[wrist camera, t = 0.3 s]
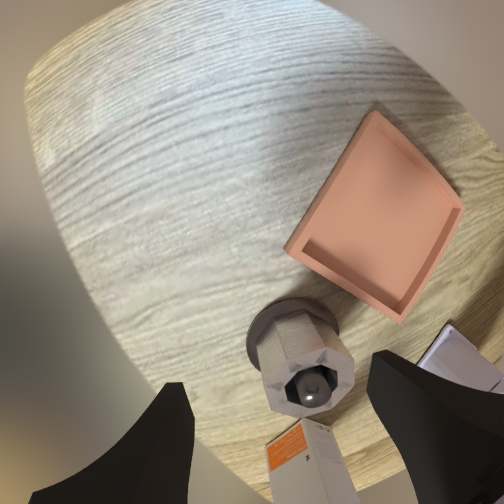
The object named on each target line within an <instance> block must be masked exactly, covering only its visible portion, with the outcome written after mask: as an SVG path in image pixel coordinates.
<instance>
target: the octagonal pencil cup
mask: <svg viewBox="0 0 504 504" xmlns="http://www.w3.org/2000/svg"><path fill="white" fill-rule="evenodd" d="M255 342H256V348H257V353H258V358H259V364H260V369H261V374H262V379H263V385H264V389H265V392H266V395H267V398H268V402H269V405H270V408H271V410H272V411H275V412H279V413H282V414H285V415H289V416H292V417H296V418H303V417H307V416H310V415H313V414H317V413H320V412H323V411H326V410H330V409H332V408H333V407H334V406H335V405H336V404H337V403H338V402H339V401H340V400H341V399H342V398H343V397H344V396H345V395H346V394H347V393H348V392H349V391H350V390H351V389H352V388H353V386H354V385H355V373H354V359H353V357H352V356H351V354H350V353H349V351H348V350H347V348H346V347H345V346H344V344H343V343H342V341H341V340H340V338H339V337H338V335H337V334H336V333H335V331H334V330H333V328H332V327H331V325H330V324H329V323H328V321H327V320H325V319H323V318H321V317H319V316H317V315H316V314H314V313H312V312H310V311H308V310H306V309H304V308H302V309H299V310H295V311H291V312H288V313H284V314H280V315H276V316H273V317H272V318H271V319H270V321H269V322H268V323H267V325H266V326H265V328H264V329H263V330H262V332H261V333H260V335H259V336H258V337H257V339H256V340H255ZM317 365H319V367H320V369H321V371H322V373H323V375H324V377H325V379H326V381H327V383H328V385H329V387H330V389H331V391H332V396H331V398H330V400H329V401H328V402H327V403H326V404H324V405H323V406H320V407H318V408H306V407H304V406H303V405H302V403H301V400H300V397H299V394H298V391H297V388H296V385H295V382H294V379H293V376H294V375H295V374H296V373H297V371H300V370H303V369H307V368H310V367H313V366H317Z"/></svg>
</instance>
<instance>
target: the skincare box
mask: <svg viewBox="0 0 504 504" xmlns="http://www.w3.org/2000/svg"><path fill="white" fill-rule="evenodd" d="M265 452H266V459H267V466H268V472H269V478H270V485H271V492H272V498H273V504H361V503H360V501H359V498H358V495H357V493H356V490H355V488H354V485H353V483H352V480H351V477H350V475H349V472H348V470H347V467H346V465H345V462H344V460H343V457H342V455H341V452H340V449H339V447H338V444H337V442H336V439H335V437H334V434H333V432H332V429H331V427H329V426H326V425H324V424H321V423H318V422H315V421H313V420H310V419H308V418H305V417H304V418H302V419H301V420H300V421H299V422H298V423H296V424H295V425H294V426H292V427H291V428H290V429H289V430H287V431H286V432H285V433H283V434H282V435H280V436H279V437H278V438H276V439H275V440H273V441H272V442H270V443H269V444H267V445H266V446H265Z"/></svg>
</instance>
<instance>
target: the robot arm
mask: <svg viewBox="0 0 504 504" xmlns="http://www.w3.org/2000/svg"><path fill="white" fill-rule="evenodd" d="M366 391H367V394H368V396H369V399H370V401H371V403H372V406H373V408H374V410H375V412H376V414H377V415H378V417H379V419H380V420H381V422H382V424H383V425H384V427H385V428H386V430H387V432H388V433H389V435H390V437H391V438H392V440H393V441H394V443H395V445H396V446H397V448H398V450H399V452H400V454H401V456H402V458H403V460H404V463H405V465H406V467H407V470H408V472H409V475H410V478H411V480H412V483H413V486H414V489H415V492H416V496H417V499H418V503H419V504H504V373H503V372H502V371H500V370H499V369H498V368H497V367H496V366H494V365H493V364H492V363H491V362H490V361H488V360H487V359H486V358H485V357H483V356H482V355H481V354H480V353H478V352H477V348H476V347H475V346H474V345H473V344H472V343H471V342H470V341H469V340H467V339H466V338H465V337H464V336H463V335H462V334H461V333H460V332H458V331H457V330H456V329H455V328H454V327H453V326H452V325H450V324H447V325H446V326H445V327H444V329H443V330H442V332H441V333H440V335H439V336H438V338H437V339H436V340H435V342H434V343H433V345H432V346H431V347H430V349H429V350H428V351H427V353H426V354H425V355H424V357H423V358H422V359H421V360H420V362H419V363H418V364H417V365H415V364H413V363H411V362H409V361H408V360H406V359H404V358H402V357H400V356H398V355H396V354H394V353H392V352H390V351H388V350H383V351H379V352H376V353H373V355H372V362H371V368H370V374H369V379H368V384H367V389H366ZM194 435H195V418H194V415H193V412H192V409H191V406H190V404H189V401H188V398H187V395H186V392H185V389H184V386H183V383H182V382H174V383H166V384H165V385H164V387H163V388H162V389H161V391H160V392H159V393H158V395H157V396H156V397H155V399H154V400H153V401H152V403H151V404H150V405H149V407H148V408H147V409H146V410H145V412H144V413H143V414H142V416H141V417H140V418H139V419H138V420H137V422H136V423H135V424H134V425H133V426H132V427H131V428H130V429H129V431H128V432H127V433H126V434H125V435H124V436H123V437H122V438H121V439H120V440H119V441H118V442H117V443H116V444H115V445H114V446H113V447H112V448H111V449H109V450H108V451H107V452H106V453H105V454H104V455H102V456H101V457H100V458H99V459H97V460H96V461H94V462H93V463H92V464H90V465H89V466H88V467H86V468H84V469H83V470H81V471H80V472H78V473H77V474H75V475H73V476H71V477H69V478H67V479H65V480H63V481H61V482H59V483H57V484H55V485H52V486H49V487H47V488H44V489H42V490H39V491H36V492H33V494H32V496H31V498H30V501H29V503H28V504H187V495H188V483H189V475H190V468H191V461H192V454H193V447H194Z"/></svg>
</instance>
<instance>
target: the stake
mask: <svg viewBox="0 0 504 504" xmlns="http://www.w3.org/2000/svg"><path fill="white" fill-rule="evenodd" d="M302 308H304V309H306V310H308V311H310V312H312V313H314V314H316V315H317V316H319V317H321V318H323V319H325V320H327V321H328V323H329V324H330V325H331V327H332V328H333V330H334V331H335V333H336V334H337V335H338V337H339V329H338V324H337V321H336V319H335V317H334V316H333V314H332V313H331V312H330V311H329V309H328V308H327V307H325V306H324V305H323V304H321V303H320V302H318V301H315V300H312V299H308V298H298V297H297V298H289V299H284V300H281V301H278V302H276V303H274V304H272V305H270V306H268V307H267V308H265V309H264V310H263V311H262V312H261V313H260V314H259V315H258V316H257V317H256V318H255V319H254V320H253V322H252V324H251V325H250V327H249V330H248V333H247V337H246V348H247V353H248V357H249V359H250V361H251V363H252V364H253V365H254V366H255V368H256V369H258V370H259V371H260V372H261V369H260V364H259V358H258V353H257V348H256V342H255V340H256V339H257V337H258V336H259V335H260V333H261V332H262V330H263V329H264V328H265V326H266V325H267V323H268V322H269V321H270V319H271V318H272V317H273V316H276V315H280V314H284V313H288V312H291V311H295V310H299V309H302ZM293 379H294V382H295V385H296V388H297V391H298V394H299V397H300V400H301V403H302V405H303V406H304V407H306V408H318V407H320V406H323V405H324V404H326V403H327V402H328V401H329V400H330V398H331V396H332V391H331V389H330V387H329V385H328V383H327V381H326V379H325V377H324V375H323V373H322V371H321V369H320V367H319V365H317V366H313V367H310V368H307V369H303V370H300V371H297V373H296V374H295V375H294V376H293Z"/></svg>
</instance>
